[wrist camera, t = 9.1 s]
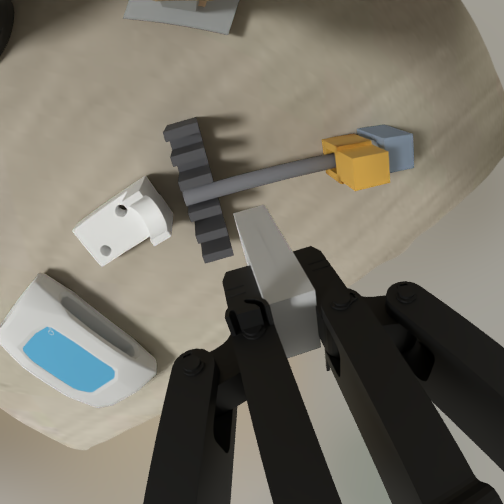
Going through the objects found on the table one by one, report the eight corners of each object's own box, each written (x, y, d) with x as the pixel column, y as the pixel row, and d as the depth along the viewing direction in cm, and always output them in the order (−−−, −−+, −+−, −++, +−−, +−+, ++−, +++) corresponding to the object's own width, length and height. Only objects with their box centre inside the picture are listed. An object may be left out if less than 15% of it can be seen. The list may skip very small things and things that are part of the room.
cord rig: (202, 240, 48) (205, 267, 42) (166, 125, 38) (162, 133, 32) (388, 191, 49) (413, 208, 43) (379, 84, 40) (409, 88, 34)
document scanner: (100, 392, 62) (97, 414, 57) (1, 322, 48) (-10, 343, 43) (159, 355, 59) (158, 379, 53) (44, 265, 45) (31, 286, 39)
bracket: (146, 173, 41) (138, 190, 35) (173, 212, 45) (171, 236, 39) (79, 220, 43) (63, 244, 36) (106, 255, 46) (95, 282, 40)
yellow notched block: (326, 173, 43) (355, 194, 36) (321, 139, 41) (351, 154, 33) (356, 166, 44) (390, 186, 36) (353, 133, 41) (388, 147, 33)
